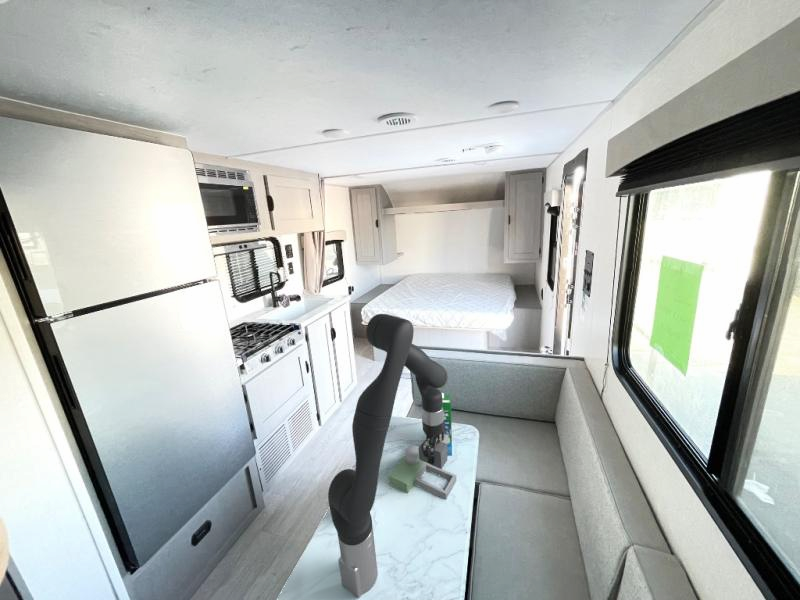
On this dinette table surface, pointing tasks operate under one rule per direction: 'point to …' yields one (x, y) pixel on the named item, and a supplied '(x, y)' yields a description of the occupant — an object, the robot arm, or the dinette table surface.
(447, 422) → the milk carton
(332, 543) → the dinette table surface
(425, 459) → the grey stepped block
